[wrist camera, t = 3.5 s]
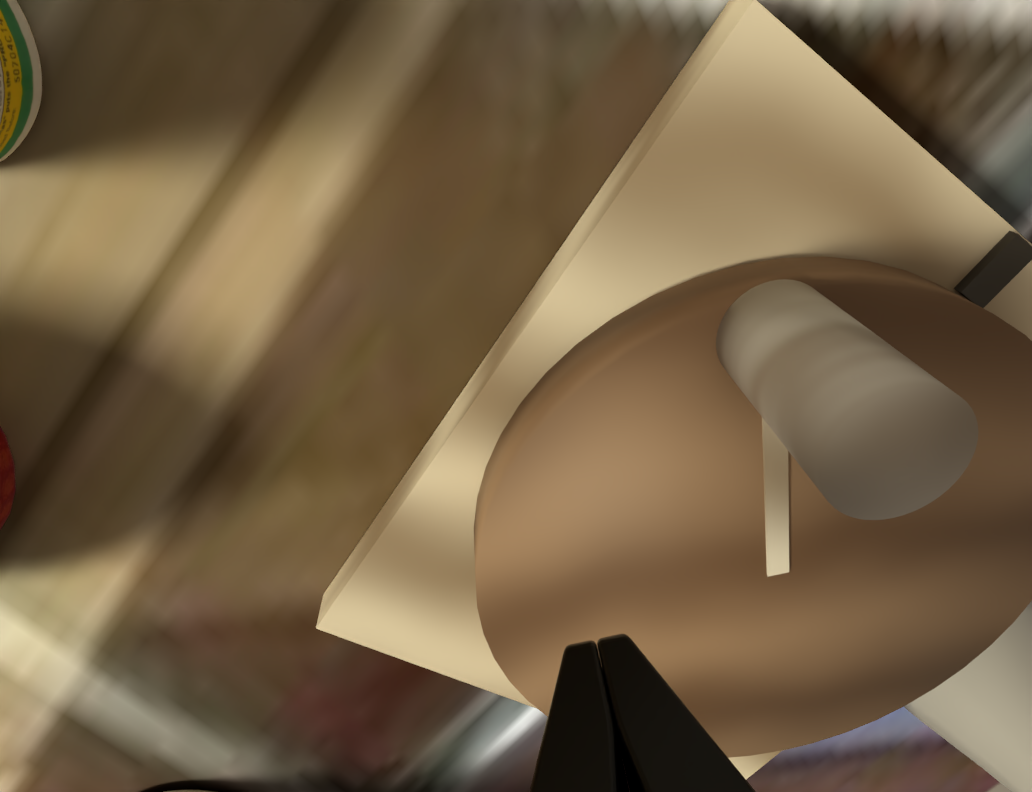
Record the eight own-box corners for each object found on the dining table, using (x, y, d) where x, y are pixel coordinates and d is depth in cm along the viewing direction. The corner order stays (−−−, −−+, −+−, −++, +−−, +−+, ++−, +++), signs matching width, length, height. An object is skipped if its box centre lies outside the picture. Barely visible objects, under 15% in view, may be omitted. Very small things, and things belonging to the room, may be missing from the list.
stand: (729, 748, 29) (745, 789, 28) (323, 594, 23) (314, 635, 22) (1164, 379, 22) (1220, 407, 20) (729, 0, 15) (760, -2, 14)
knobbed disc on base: (987, 652, 25) (1163, 860, 19) (533, 745, 25) (558, 977, 19) (1086, 175, 16) (1468, 265, 10) (399, 330, 17) (368, 506, 11)
